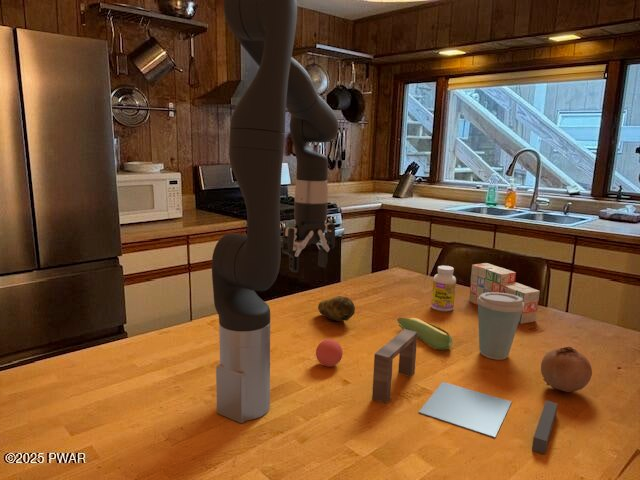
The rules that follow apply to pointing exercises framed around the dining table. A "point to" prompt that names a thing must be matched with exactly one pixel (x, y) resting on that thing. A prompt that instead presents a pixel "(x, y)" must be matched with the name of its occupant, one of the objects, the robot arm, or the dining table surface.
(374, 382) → the bridge
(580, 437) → the dining table surface
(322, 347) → the ball
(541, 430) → the wall
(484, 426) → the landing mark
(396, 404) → the dining table surface
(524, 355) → the dining table surface
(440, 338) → the edible corn
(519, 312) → the disposable coffee cup
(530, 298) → the stack of blocks
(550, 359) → the onion
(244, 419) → the robot arm
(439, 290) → the supplement bottle
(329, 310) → the potato
